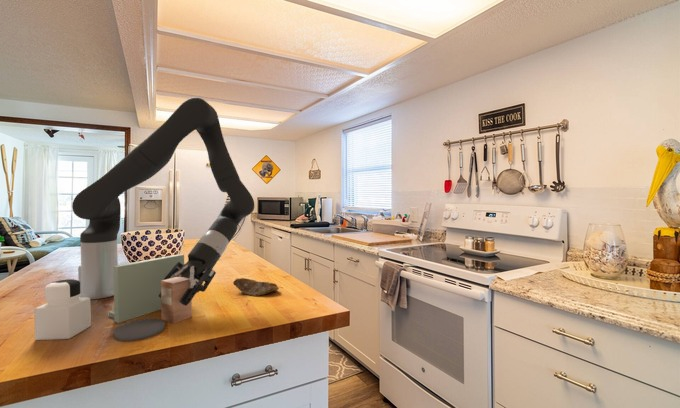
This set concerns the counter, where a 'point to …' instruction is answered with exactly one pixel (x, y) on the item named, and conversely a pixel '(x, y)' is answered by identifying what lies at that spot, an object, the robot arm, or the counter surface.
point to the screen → (140, 286)
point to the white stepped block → (62, 311)
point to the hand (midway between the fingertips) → (172, 301)
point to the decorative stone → (254, 287)
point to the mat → (139, 329)
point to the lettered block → (174, 299)
